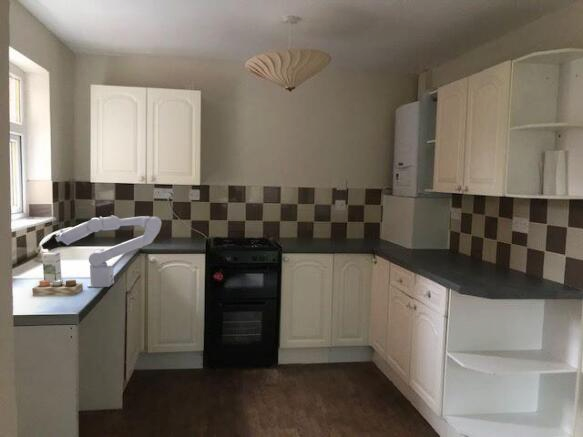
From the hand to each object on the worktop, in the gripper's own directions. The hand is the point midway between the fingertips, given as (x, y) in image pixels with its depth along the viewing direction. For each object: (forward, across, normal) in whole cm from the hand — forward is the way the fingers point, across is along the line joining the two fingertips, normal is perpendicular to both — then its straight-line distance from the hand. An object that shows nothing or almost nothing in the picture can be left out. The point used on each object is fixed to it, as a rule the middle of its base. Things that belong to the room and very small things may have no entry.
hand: (46, 247), depth 213 cm
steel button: (+1, +6, +18) cm, 19 cm away
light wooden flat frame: (+2, +6, +21) cm, 21 cm away
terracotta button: (+5, +6, +16) cm, 18 cm away
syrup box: (+7, -10, +15) cm, 20 cm away
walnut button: (-4, +7, +21) cm, 22 cm away
